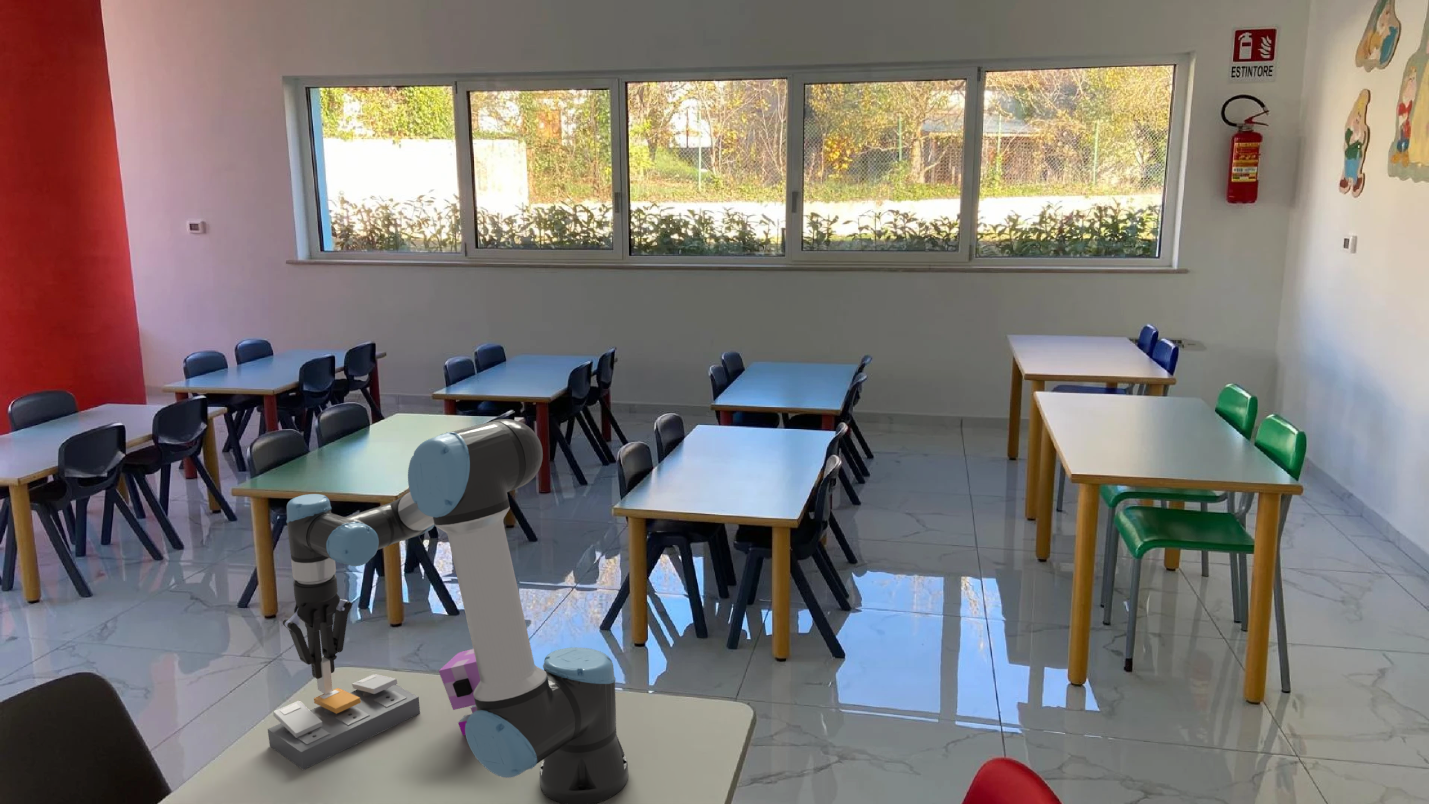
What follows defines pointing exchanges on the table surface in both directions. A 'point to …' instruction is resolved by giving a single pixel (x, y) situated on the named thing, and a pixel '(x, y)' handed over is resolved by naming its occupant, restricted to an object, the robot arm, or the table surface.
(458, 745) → the table surface
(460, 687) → the toy
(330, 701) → the plate
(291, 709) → the rocker
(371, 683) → the rocker
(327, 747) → the power strip
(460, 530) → the robot arm
